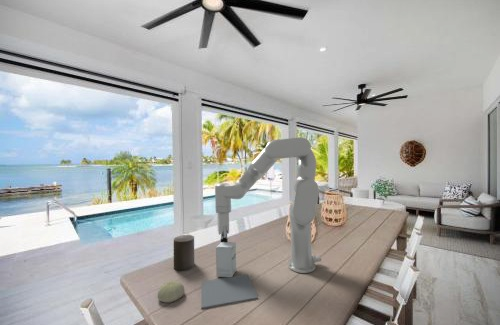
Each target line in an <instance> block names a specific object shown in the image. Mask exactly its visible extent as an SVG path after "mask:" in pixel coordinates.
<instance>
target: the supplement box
mask: <svg viewBox="0 0 500 325" xmlns="http://www.w3.org/2000/svg"><path fill="white" fill-rule="evenodd" d="M236 246H237V243H236V241H235V242H232V241H228V242H221V241H220V243H219V244H218V245H217V246H216V247H215V264H216V265H215V266H216V267H215V269H216V270H215V271H216V274H215V275H216V277H217V278H218V277H219V278H220V277H221V278H227V277H234V274H235V273H236V271H237V248H236Z"/></svg>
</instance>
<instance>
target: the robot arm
mask: <svg viewBox="0 0 500 325" xmlns="http://www.w3.org/2000/svg"><path fill="white" fill-rule="evenodd" d="M289 158H295V159H296V162H297V168H296V175H295V180H294V186H293V190H294V193H295V196H294V200H293V201H292V202H291V203H290V204H289V220H290V221H289V224H290V229H289V230H290V260H288V262H287V267H288V268H289V269H290V270H291V271H293V272H296V273H299V274H300V273H301V274H307V273H308V274H309V273H311V272H314V271H315V270H316V264H315V263H316V262H322V257H321V256H316V255H313V252H312V222H313V221H314V219H315V217H316V212H317V208H318V207H317V206H318V202H319V201H318V200H319V194H320V190H319V185H318V183H317V182H316V181H315V180H316V171H317V159H316V155H315V153H314V151H313V150H312V144H311V142H310V141H309V140H308V138H305V137H302V136H299V137H290V138H289V137H288V138H282V139H281V138H279V139H274V140H270V141H269V142H267V144H266V146H265V147H264V148H263V149H262V150H261V151H260V153H259V154H257V156H256V157H255V158H254V159H253V160H252V161H251V162H250V164H249V166H248V167H247V170H245V172H244V173H243V174H242V176H241V177H240V178H239V179H238V180H237V181H236V182H235V183H233V184H230V183H226V182H225V183H223V182H222V183H221V182H220V183H217V184H215V187H214V195H215V196H214V199H215V201H214V202H215V213H216V214H217V233H218V235H220V243H221V242H229V241H228V239H229V238H228V234H229V233H230V213H231V212H232V200H241V199H242V198H244V197H245V195H246V194H247V193H248V191H250V189H252V187H254V185H255V184H256V183H257V182H258V180H260V179H262V178H263V176H265V175H266V174H267V173H268V171H270V169H271V168H272V167H273V166H274V164H276V162H277V161H278V160H279V159H289Z"/></svg>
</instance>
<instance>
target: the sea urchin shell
mask: <svg viewBox="0 0 500 325" xmlns="http://www.w3.org/2000/svg"><path fill="white" fill-rule="evenodd" d="M184 294H185V286H184V284H183V283H182V282H180V281H179V280H174V281H173V280H172V281H168V282H166V283H163V285H161V286H160V288H159V290H158V292H157V299H158V301H160V302H161V303H162V302H163V303H167V304H168V303H174V302H175V301H177V300H179V299H180V298H181V297H182V296H183V295H184Z"/></svg>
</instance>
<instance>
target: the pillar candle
mask: <svg viewBox="0 0 500 325" xmlns="http://www.w3.org/2000/svg"><path fill="white" fill-rule="evenodd" d="M194 267H195V236H194V235H192V234H182V235H177V236H176V237H174V238H173V270H175V271H177V272H185V271H187V270H189V271H190V269H192V268H194Z"/></svg>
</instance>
